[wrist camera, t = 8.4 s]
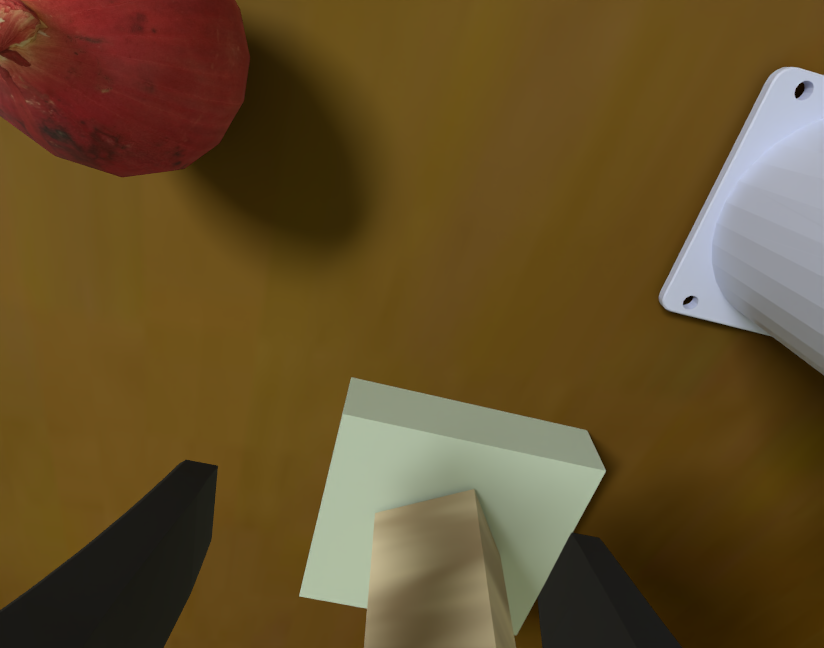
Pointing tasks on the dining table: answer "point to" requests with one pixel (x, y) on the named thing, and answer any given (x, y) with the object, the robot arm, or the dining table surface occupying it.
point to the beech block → (437, 578)
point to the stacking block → (448, 485)
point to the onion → (123, 78)
